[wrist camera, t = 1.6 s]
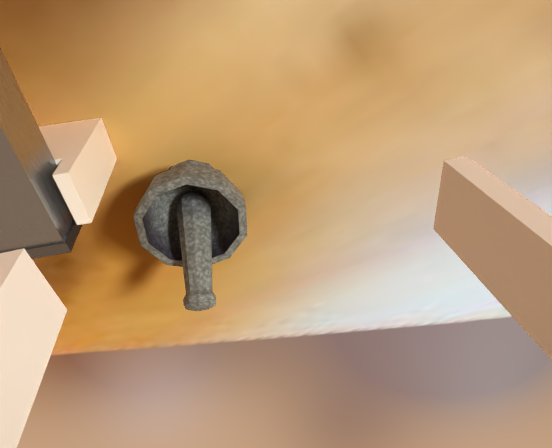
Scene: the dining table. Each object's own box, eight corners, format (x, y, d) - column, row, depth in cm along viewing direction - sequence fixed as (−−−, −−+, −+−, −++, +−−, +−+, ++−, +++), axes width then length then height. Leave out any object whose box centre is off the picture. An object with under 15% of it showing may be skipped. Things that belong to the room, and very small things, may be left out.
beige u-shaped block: (8, 130, 32) (-59, 192, 23) (101, 117, 32) (68, 172, 24) (31, 172, 34) (-23, 241, 26) (116, 159, 35) (91, 222, 26)
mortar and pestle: (135, 145, 34) (111, 217, 25) (236, 139, 36) (251, 205, 26) (157, 241, 41) (145, 328, 31) (242, 232, 42) (256, 313, 33)
